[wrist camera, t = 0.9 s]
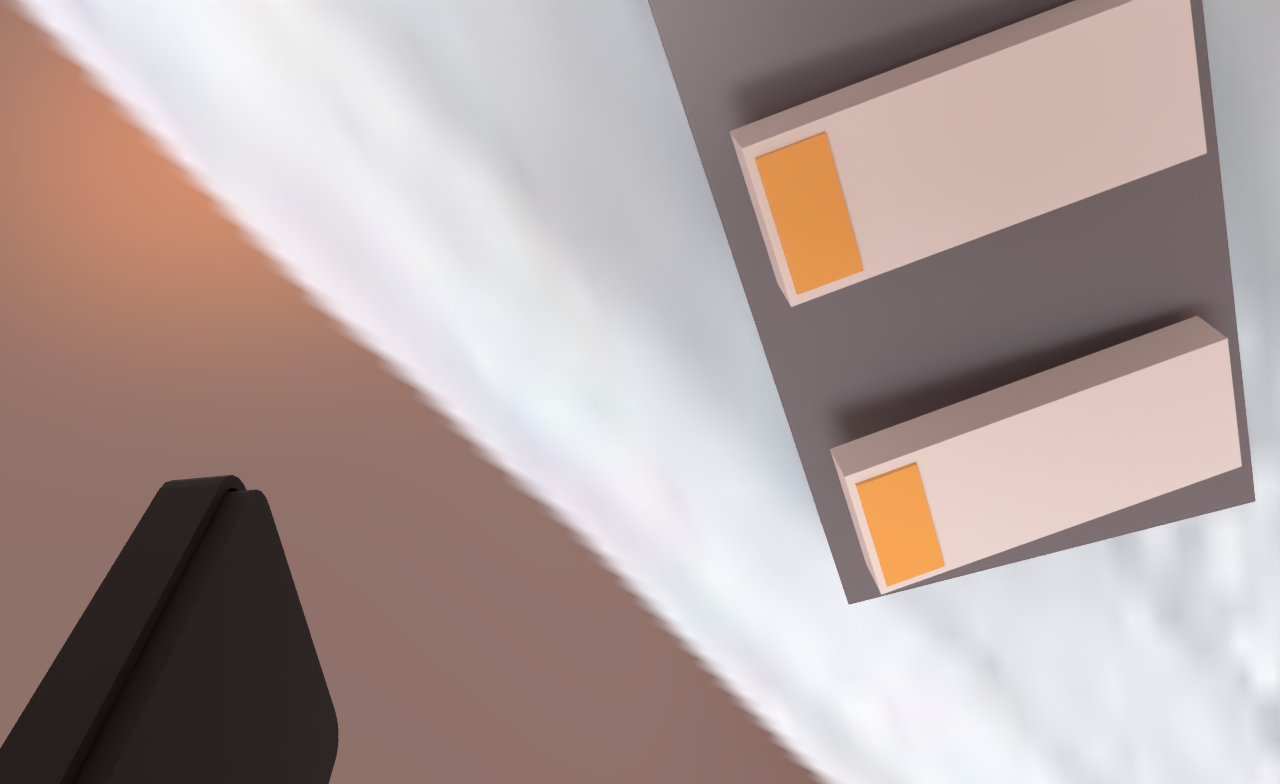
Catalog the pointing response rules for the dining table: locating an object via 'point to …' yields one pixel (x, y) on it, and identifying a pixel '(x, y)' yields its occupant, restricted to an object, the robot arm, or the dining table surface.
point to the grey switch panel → (948, 257)
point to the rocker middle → (972, 140)
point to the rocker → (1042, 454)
